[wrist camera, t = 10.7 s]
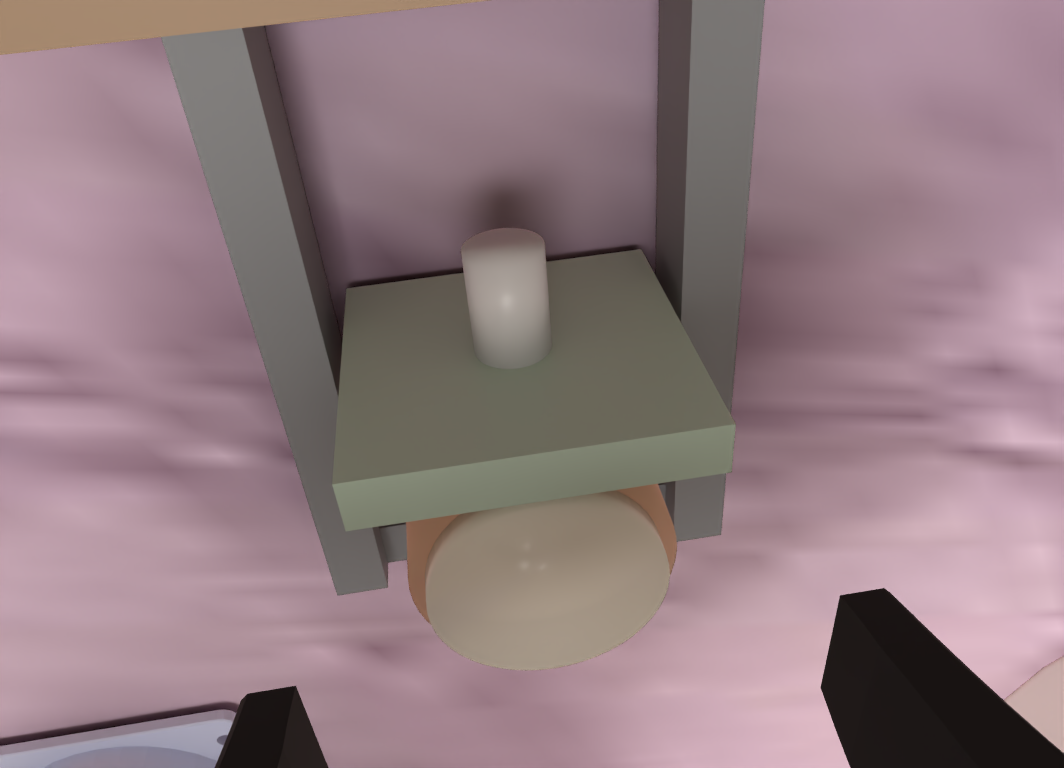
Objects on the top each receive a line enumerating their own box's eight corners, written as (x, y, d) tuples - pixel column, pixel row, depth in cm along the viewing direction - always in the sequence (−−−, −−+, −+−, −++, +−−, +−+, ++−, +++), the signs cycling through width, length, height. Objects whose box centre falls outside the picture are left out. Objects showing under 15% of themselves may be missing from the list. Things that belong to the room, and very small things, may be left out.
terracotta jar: (625, 447, 22) (695, 644, 17) (433, 493, 22) (448, 703, 17) (598, 279, 19) (673, 461, 14) (374, 332, 19) (372, 532, 14)
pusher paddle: (640, 290, 19) (731, 472, 14) (355, 329, 18) (345, 531, 13) (641, 158, 17) (745, 313, 12) (325, 197, 16) (300, 375, 12)
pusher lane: (708, 478, 23) (836, 760, 16) (329, 537, 22) (306, 854, 15) (755, -254, 13) (1098, -280, 7) (104, -195, 13) (-180, -161, 6)
